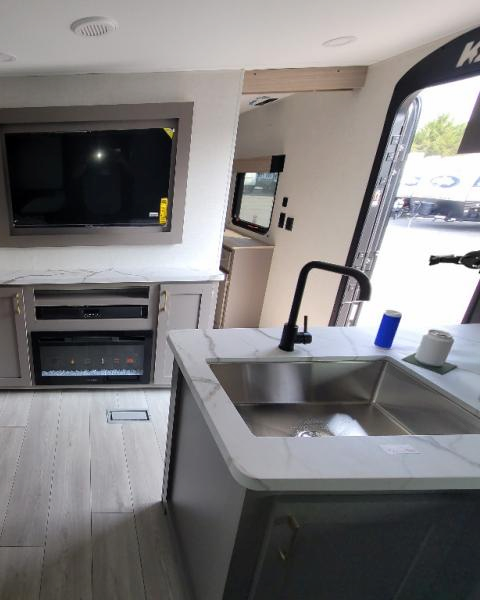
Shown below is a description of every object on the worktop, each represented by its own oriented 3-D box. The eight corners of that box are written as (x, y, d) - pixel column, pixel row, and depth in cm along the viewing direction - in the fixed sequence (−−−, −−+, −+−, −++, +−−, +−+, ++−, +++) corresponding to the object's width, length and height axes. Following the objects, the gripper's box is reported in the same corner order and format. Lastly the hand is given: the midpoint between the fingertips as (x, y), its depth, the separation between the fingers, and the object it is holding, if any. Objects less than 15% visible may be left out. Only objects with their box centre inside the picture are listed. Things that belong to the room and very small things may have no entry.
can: (422, 366, 116) (434, 336, 112) (409, 355, 123) (420, 327, 118) (449, 369, 114) (462, 338, 110) (434, 358, 121) (446, 329, 116)
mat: (456, 366, 116) (457, 365, 116) (441, 374, 112) (442, 373, 111) (416, 352, 125) (416, 352, 125) (401, 359, 121) (401, 359, 121)
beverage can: (387, 344, 131) (399, 310, 126) (392, 350, 127) (405, 315, 122) (371, 342, 133) (382, 308, 128) (376, 348, 129) (387, 313, 124)
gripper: (523, 275, 123) (500, 284, 115) (434, 261, 144) (409, 268, 136) (532, 255, 120) (509, 263, 112) (440, 244, 141) (415, 250, 133)
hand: (454, 266), depth 124 cm, fingers open, 13 cm apart
